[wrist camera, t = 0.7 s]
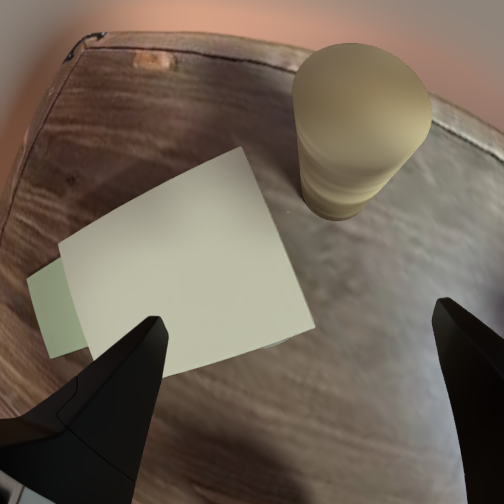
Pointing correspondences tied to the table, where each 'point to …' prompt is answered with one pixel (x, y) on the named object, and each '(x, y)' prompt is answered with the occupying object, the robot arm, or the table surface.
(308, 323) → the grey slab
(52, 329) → the pad
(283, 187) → the table surface
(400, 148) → the birch roller
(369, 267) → the table surface
